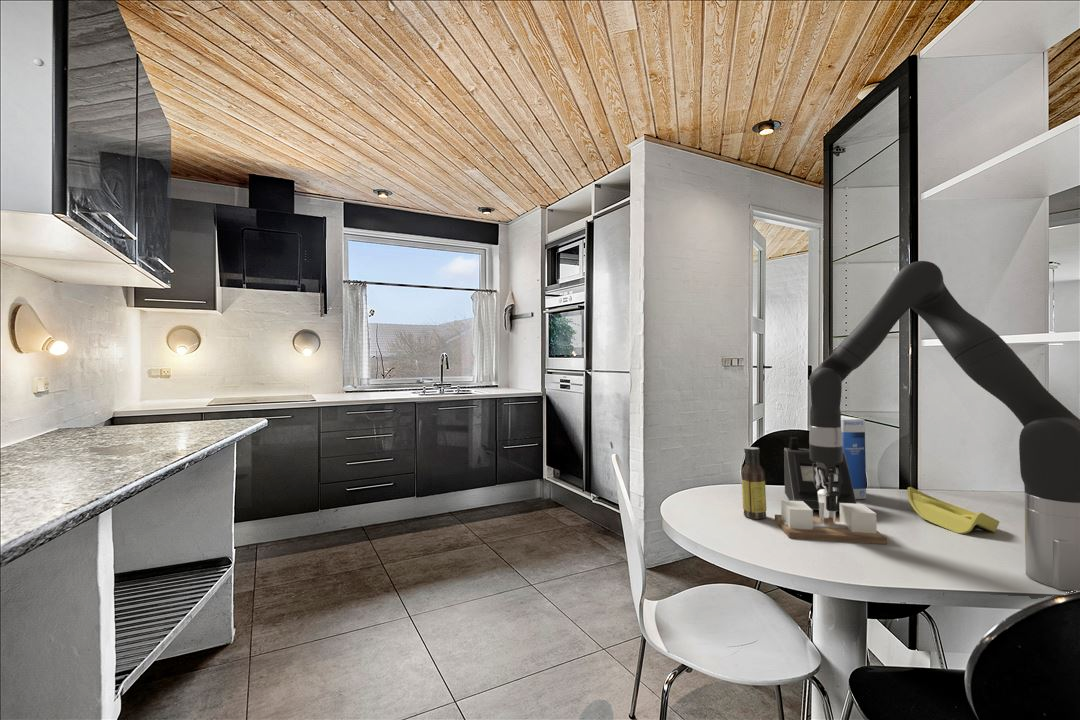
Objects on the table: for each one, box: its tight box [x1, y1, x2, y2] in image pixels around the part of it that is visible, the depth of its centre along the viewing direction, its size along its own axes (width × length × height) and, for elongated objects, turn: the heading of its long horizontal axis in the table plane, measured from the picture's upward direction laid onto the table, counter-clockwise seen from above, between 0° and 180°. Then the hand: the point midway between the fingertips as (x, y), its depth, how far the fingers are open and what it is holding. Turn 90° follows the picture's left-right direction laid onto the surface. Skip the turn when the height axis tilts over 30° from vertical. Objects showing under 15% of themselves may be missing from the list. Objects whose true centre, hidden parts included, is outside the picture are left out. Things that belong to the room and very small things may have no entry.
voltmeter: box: [783, 436, 858, 512], centre depth 146 cm, size 16×16×20 cm
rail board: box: [774, 514, 888, 545], centre depth 125 cm, size 14×22×2 cm, turn 77°
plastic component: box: [906, 486, 1000, 535], centre depth 131 cm, size 20×7×10 cm
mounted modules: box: [780, 499, 878, 533], centre depth 125 cm, size 8×20×5 cm, turn 77°
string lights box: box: [841, 414, 867, 500], centre depth 159 cm, size 13×8×26 cm, turn 1°
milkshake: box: [817, 489, 837, 526], centre depth 125 cm, size 4×5×10 cm
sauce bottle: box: [741, 446, 767, 520], centre depth 138 cm, size 6×6×20 cm
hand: (826, 506), depth 125 cm, fingers open, 5 cm apart
